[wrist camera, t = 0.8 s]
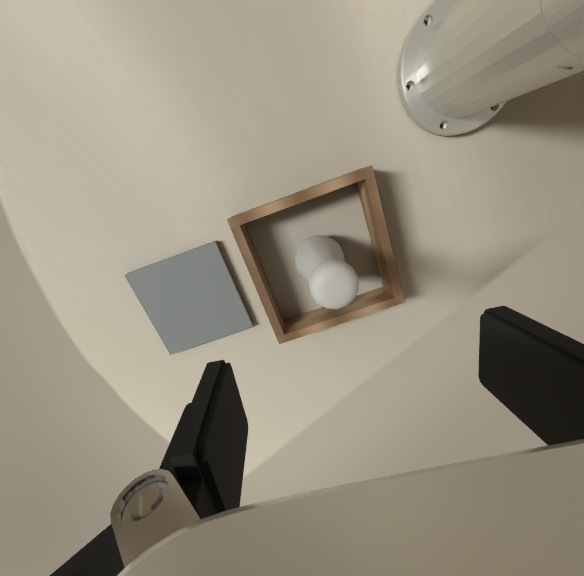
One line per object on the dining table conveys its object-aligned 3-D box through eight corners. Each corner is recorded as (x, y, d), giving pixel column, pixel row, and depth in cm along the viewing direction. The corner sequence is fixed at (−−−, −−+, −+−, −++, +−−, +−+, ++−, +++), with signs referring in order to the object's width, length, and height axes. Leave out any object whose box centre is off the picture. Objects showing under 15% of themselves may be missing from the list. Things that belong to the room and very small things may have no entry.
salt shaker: (347, 262, 37) (382, 299, 24) (309, 285, 37) (324, 333, 25) (324, 223, 35) (350, 241, 23) (285, 248, 36) (288, 279, 23)
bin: (361, 168, 33) (372, 165, 29) (392, 291, 38) (404, 302, 34) (232, 216, 34) (227, 219, 30) (279, 329, 39) (279, 344, 35)
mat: (216, 240, 35) (215, 241, 34) (253, 323, 39) (252, 326, 38) (127, 273, 36) (124, 275, 35) (172, 351, 40) (170, 354, 39)
